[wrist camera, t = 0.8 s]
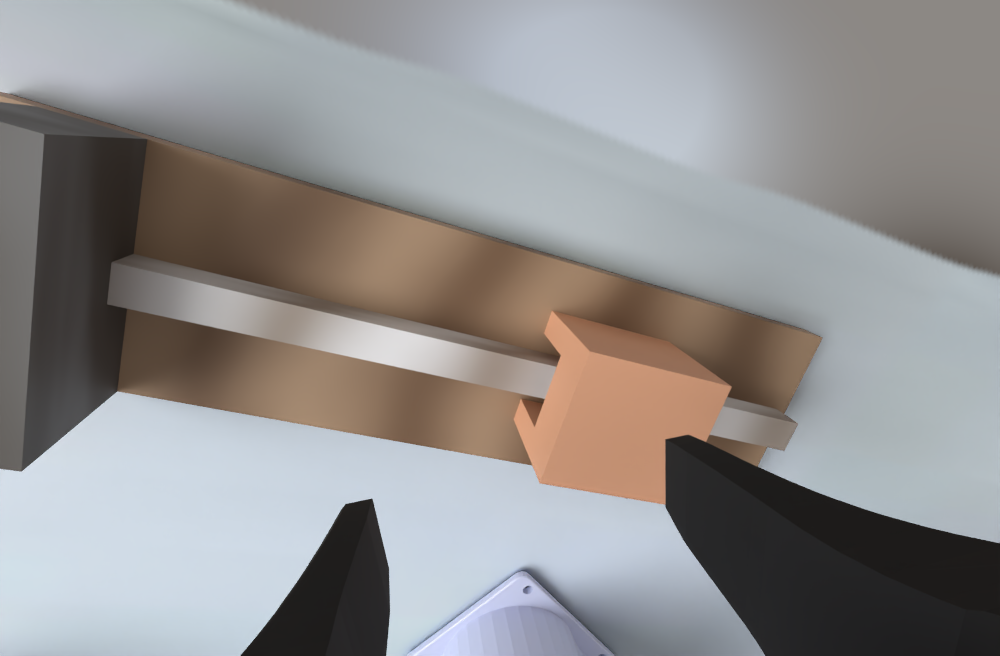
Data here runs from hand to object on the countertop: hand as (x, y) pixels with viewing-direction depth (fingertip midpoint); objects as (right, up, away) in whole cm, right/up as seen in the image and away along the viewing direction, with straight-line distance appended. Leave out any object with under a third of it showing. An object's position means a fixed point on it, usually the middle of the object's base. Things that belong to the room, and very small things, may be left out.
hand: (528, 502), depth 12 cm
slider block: (+3, +2, +10) cm, 10 cm away
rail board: (-3, +4, +9) cm, 10 cm away
